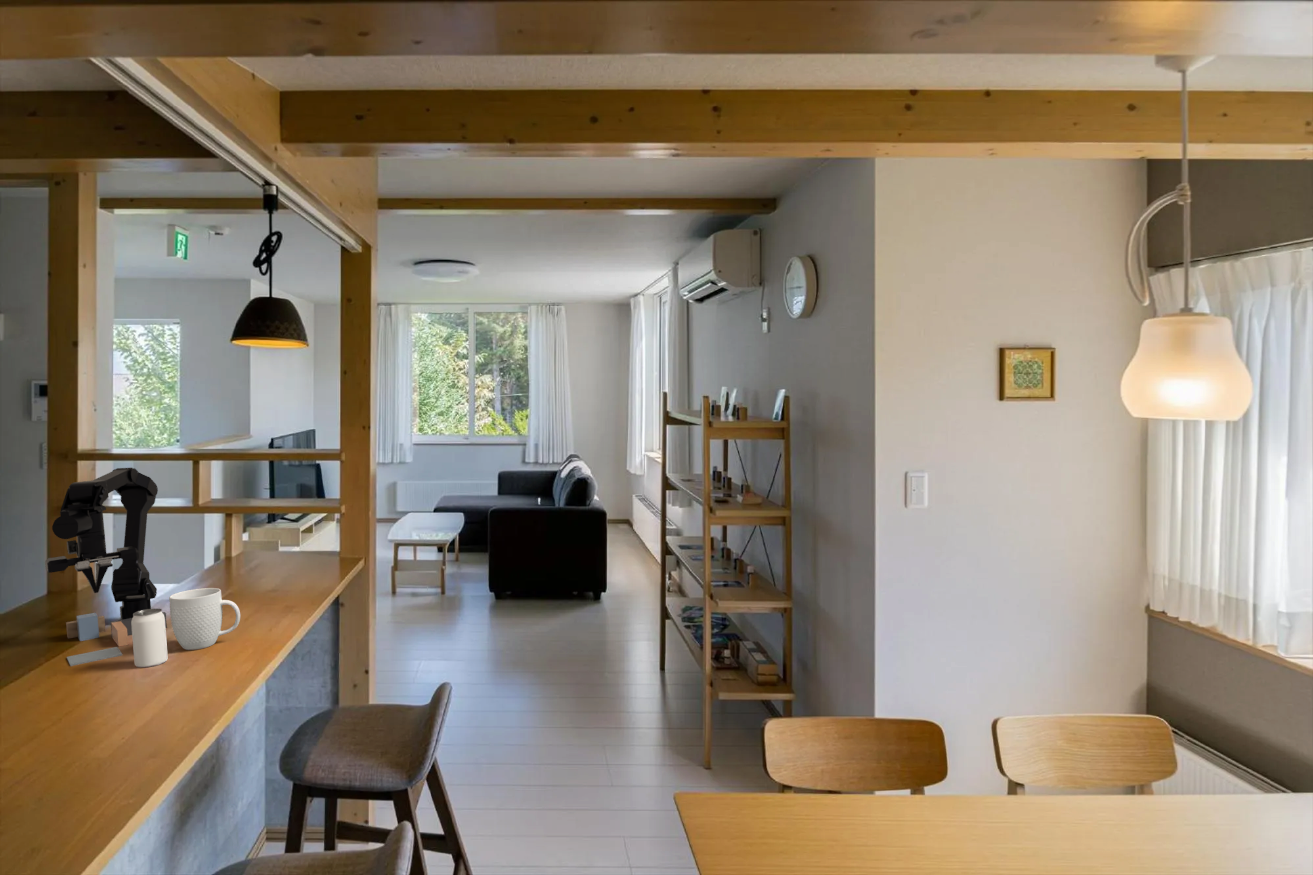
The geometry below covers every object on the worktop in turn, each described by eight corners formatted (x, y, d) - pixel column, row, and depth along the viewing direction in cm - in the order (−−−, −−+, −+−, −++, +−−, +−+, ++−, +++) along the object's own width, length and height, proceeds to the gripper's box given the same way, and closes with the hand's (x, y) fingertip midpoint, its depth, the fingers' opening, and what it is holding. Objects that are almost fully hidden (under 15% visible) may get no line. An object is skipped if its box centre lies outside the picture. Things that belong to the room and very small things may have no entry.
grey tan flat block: (165, 626, 212) (164, 611, 212) (174, 635, 203) (173, 619, 203) (111, 637, 204) (110, 621, 204) (118, 646, 195) (117, 630, 195)
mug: (245, 634, 202) (241, 583, 202) (238, 646, 192) (234, 593, 191) (178, 642, 197) (174, 591, 197) (168, 655, 187) (163, 601, 186)
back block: (104, 630, 211) (103, 615, 211) (105, 631, 210) (104, 617, 210) (67, 637, 206) (66, 622, 206) (68, 639, 204) (66, 623, 204)
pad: (117, 648, 194) (117, 646, 194) (122, 655, 188) (122, 653, 188) (66, 658, 188) (66, 656, 188) (70, 666, 182) (70, 664, 182)
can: (174, 659, 184) (170, 608, 183) (148, 669, 178) (144, 616, 177) (154, 657, 186) (150, 607, 186) (127, 666, 180) (123, 614, 179)
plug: (97, 635, 207) (95, 612, 207) (99, 638, 204) (97, 615, 204) (78, 638, 205) (76, 615, 204) (80, 641, 202) (78, 618, 201)
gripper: (128, 522, 211) (133, 580, 212) (40, 533, 198) (46, 594, 200) (136, 527, 203) (141, 587, 204) (45, 539, 190) (51, 602, 191)
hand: (96, 592), depth 200 cm, fingers closed
